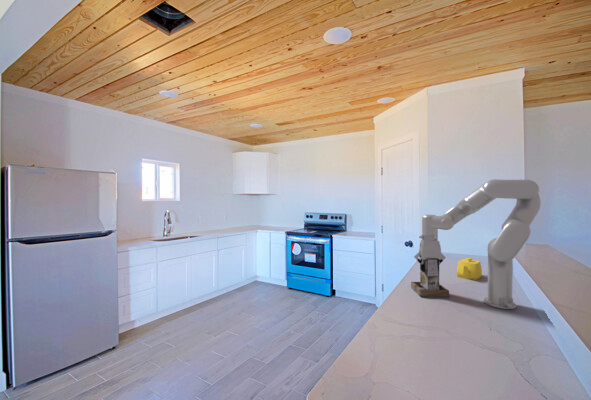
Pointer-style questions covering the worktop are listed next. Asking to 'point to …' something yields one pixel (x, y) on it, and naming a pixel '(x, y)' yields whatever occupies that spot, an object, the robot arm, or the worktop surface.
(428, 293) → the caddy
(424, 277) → the coffee box
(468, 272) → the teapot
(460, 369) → the worktop surface
